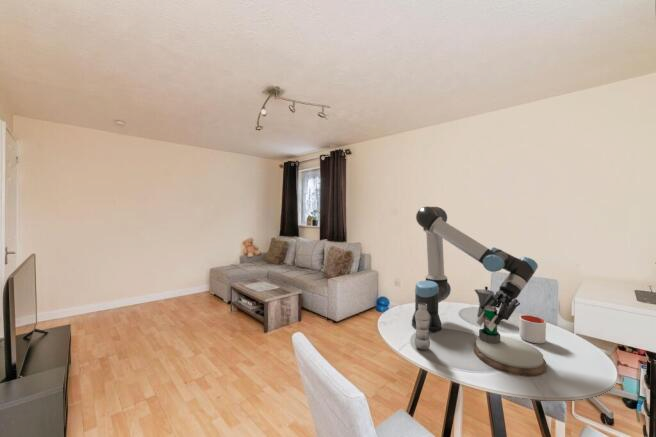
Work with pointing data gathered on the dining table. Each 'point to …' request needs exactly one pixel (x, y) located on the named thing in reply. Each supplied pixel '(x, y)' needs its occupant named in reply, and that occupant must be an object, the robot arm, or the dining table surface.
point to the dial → (509, 351)
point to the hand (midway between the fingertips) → (483, 326)
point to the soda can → (489, 319)
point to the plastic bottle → (422, 327)
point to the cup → (532, 329)
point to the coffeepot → (483, 298)
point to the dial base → (511, 369)
